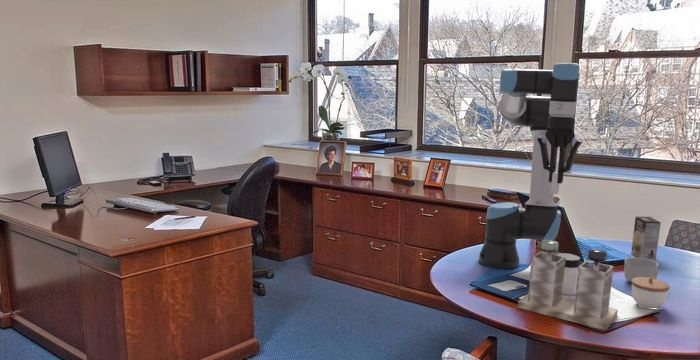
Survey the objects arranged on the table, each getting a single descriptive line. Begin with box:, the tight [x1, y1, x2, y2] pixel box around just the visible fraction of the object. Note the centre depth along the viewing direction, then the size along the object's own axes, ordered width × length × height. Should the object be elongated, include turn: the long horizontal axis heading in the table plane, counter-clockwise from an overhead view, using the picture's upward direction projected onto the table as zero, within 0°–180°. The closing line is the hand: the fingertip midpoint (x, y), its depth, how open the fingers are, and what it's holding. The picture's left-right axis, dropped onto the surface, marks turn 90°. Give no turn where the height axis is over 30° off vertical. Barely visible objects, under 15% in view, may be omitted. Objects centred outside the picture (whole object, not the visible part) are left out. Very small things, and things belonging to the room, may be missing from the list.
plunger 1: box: [540, 240, 560, 261], centre depth 181 cm, size 6×6×17 cm
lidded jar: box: [631, 277, 670, 309], centre depth 185 cm, size 11×11×9 cm
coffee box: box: [631, 216, 662, 261], centre depth 236 cm, size 9×6×16 cm
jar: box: [555, 252, 581, 296], centre depth 196 cm, size 9×8×12 cm
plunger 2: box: [587, 248, 608, 271], centre depth 173 cm, size 6×6×17 cm
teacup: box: [623, 255, 660, 284], centre depth 208 cm, size 14×11×8 cm
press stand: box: [517, 251, 619, 331], centre depth 178 cm, size 26×14×16 cm, turn 54°
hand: (554, 193), depth 177 cm, fingers closed
